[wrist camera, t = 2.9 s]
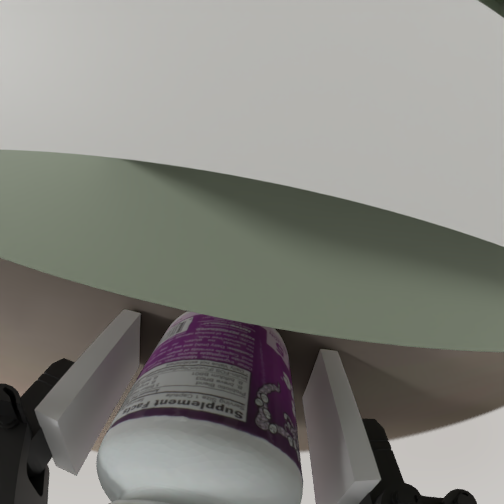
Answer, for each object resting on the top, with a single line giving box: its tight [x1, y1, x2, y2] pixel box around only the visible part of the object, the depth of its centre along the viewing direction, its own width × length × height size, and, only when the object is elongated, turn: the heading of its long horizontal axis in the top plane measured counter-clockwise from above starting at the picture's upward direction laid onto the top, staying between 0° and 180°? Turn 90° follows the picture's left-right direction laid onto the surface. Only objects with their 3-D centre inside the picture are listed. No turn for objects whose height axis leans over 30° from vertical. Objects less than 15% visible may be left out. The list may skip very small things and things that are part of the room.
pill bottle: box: [97, 311, 303, 504], centre depth 8 cm, size 5×5×10 cm
